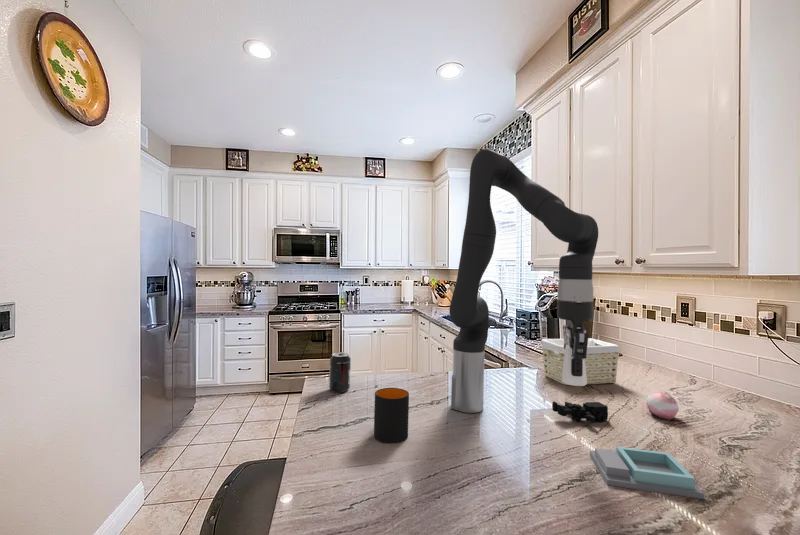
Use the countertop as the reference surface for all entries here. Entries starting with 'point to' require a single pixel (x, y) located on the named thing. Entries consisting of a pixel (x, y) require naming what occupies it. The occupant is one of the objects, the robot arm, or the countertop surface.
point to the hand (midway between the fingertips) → (574, 372)
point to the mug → (391, 415)
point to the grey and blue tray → (645, 471)
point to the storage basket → (597, 360)
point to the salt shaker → (566, 372)
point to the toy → (583, 411)
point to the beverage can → (340, 372)
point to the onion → (662, 405)
